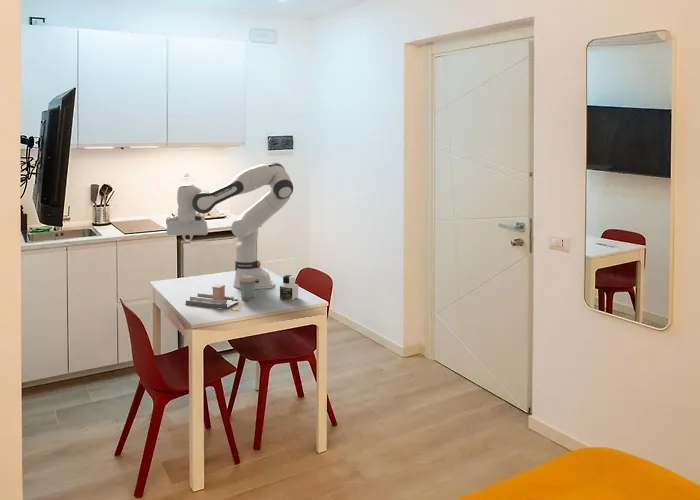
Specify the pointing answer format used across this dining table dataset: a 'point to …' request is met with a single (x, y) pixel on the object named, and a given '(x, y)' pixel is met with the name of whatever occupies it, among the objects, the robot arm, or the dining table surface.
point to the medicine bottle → (288, 288)
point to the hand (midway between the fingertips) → (187, 243)
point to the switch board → (209, 301)
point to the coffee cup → (247, 286)
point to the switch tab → (219, 292)
